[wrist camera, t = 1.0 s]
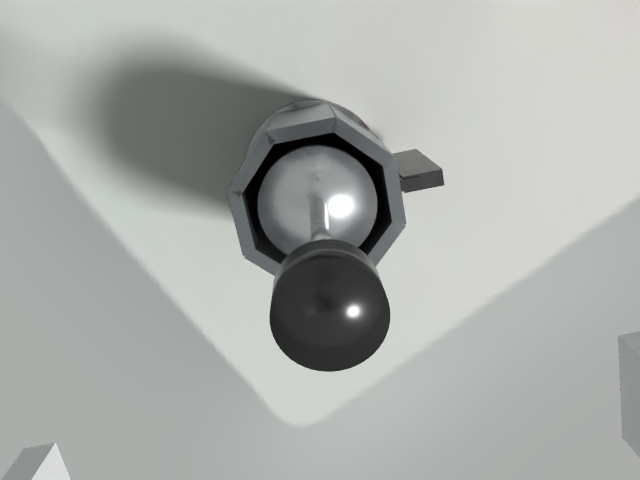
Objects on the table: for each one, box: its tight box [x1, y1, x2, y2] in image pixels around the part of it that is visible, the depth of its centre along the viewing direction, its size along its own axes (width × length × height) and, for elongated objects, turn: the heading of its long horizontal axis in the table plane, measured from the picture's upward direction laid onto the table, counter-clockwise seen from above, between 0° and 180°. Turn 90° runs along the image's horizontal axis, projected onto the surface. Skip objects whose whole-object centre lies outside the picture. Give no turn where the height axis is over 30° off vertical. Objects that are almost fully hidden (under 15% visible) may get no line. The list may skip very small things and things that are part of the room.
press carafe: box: [227, 100, 444, 276], centre depth 39 cm, size 11×13×12 cm
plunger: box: [258, 145, 390, 371], centre depth 26 cm, size 7×7×16 cm
